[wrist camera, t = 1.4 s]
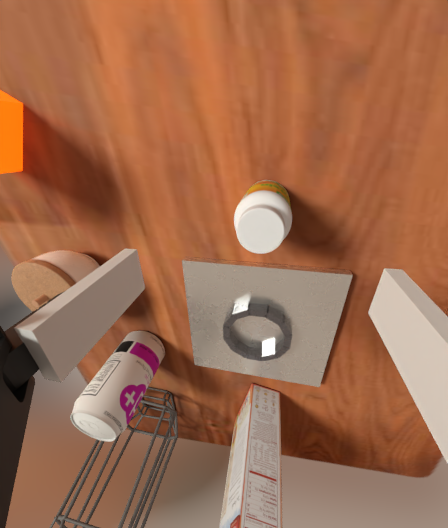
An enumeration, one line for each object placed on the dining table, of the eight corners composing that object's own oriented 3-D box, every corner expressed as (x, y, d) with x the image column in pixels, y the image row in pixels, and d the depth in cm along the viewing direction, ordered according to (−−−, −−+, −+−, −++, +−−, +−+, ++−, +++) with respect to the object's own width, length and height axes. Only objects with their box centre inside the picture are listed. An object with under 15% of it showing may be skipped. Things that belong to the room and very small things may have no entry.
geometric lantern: (122, 370, 51) (-101, 707, 20) (189, 384, 49) (51, 787, 18) (132, 410, 58) (-20, 700, 28) (191, 424, 56) (96, 756, 26)
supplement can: (165, 333, 42) (114, 419, 29) (167, 362, 46) (124, 449, 33) (124, 324, 43) (58, 403, 30) (131, 353, 47) (75, 434, 34)
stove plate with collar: (350, 270, 29) (356, 282, 26) (318, 380, 39) (321, 396, 37) (185, 256, 33) (177, 265, 30) (196, 359, 43) (191, 372, 41)
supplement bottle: (299, 193, 26) (308, 219, 17) (274, 232, 28) (272, 271, 20) (256, 170, 25) (245, 186, 17) (236, 212, 28) (218, 243, 20)
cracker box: (261, 426, 50) (250, 588, 32) (234, 417, 50) (209, 572, 32) (283, 391, 43) (285, 575, 25) (252, 381, 43) (232, 554, 25)
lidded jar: (58, 227, 35) (-7, 254, 27) (120, 259, 36) (75, 294, 28) (56, 277, 41) (1, 311, 33) (110, 304, 41) (69, 344, 33)
